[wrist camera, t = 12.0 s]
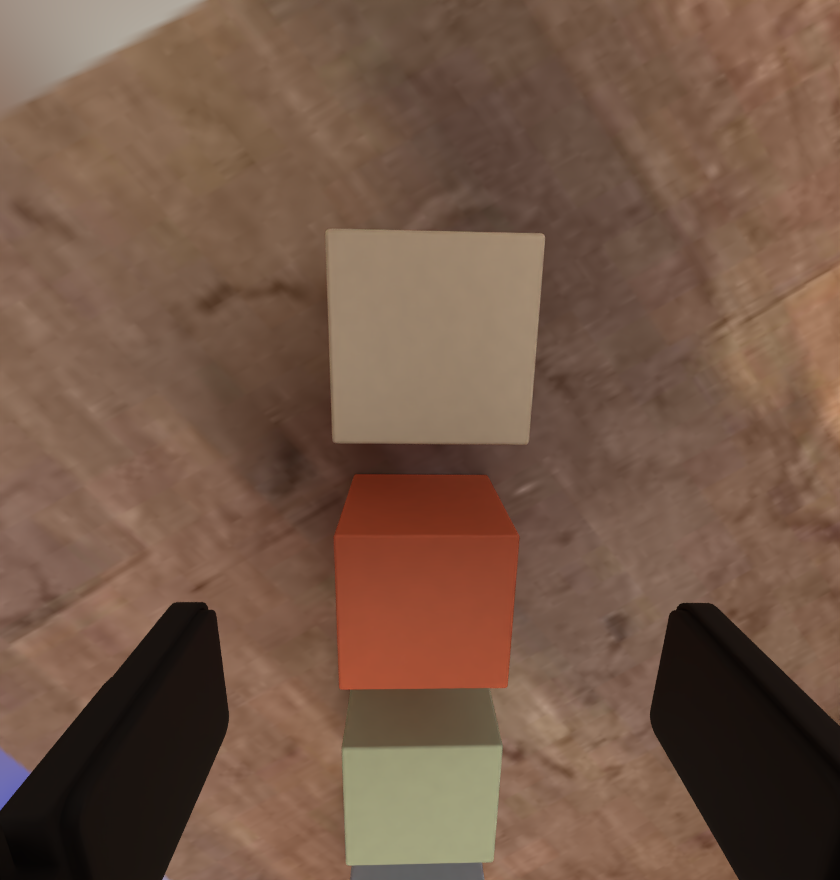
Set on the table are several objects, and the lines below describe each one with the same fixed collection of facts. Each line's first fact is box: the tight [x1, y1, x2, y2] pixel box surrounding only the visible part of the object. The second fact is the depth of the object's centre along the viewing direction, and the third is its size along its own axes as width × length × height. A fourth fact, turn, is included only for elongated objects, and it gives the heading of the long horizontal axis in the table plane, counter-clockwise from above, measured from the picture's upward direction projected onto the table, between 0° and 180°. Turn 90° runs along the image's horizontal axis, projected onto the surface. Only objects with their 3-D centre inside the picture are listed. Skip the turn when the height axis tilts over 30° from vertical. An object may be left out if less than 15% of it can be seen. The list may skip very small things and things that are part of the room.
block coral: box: [334, 474, 519, 690], centre depth 14 cm, size 5×5×5 cm
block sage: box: [342, 688, 503, 866], centre depth 16 cm, size 5×5×5 cm
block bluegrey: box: [350, 862, 484, 880], centre depth 17 cm, size 5×5×5 cm
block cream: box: [325, 229, 545, 445], centre depth 12 cm, size 5×5×5 cm
